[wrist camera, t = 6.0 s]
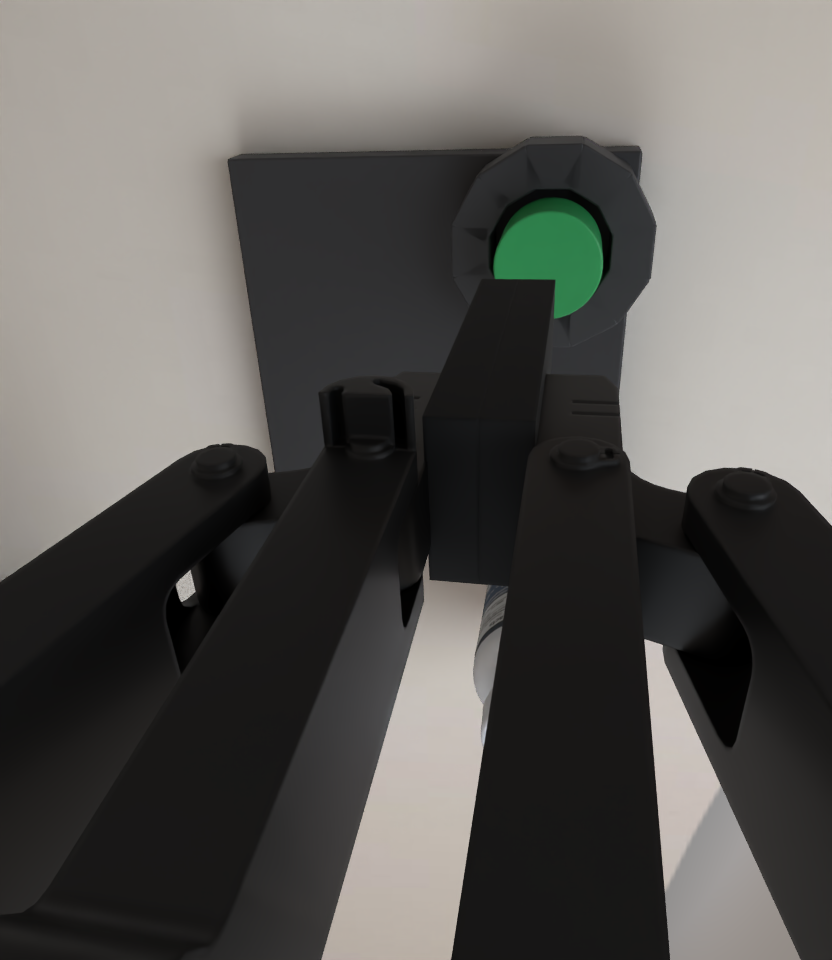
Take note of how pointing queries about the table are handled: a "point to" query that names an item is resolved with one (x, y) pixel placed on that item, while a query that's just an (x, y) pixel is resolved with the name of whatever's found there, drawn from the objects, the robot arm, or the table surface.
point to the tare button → (553, 250)
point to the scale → (415, 262)
